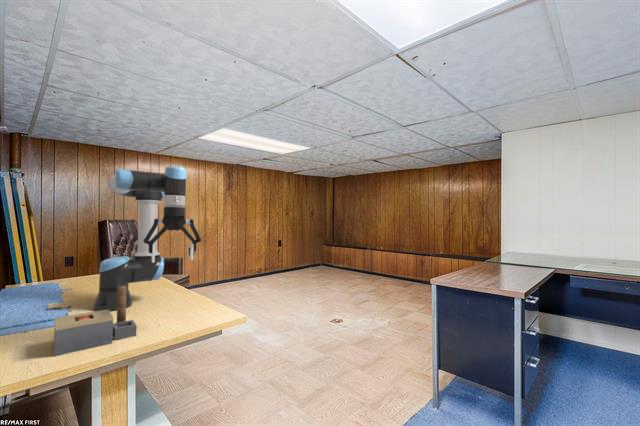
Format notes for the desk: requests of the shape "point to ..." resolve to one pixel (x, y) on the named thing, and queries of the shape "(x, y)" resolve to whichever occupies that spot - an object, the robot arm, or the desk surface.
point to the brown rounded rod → (121, 303)
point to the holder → (124, 329)
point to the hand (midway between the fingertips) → (172, 260)
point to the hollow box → (82, 331)
